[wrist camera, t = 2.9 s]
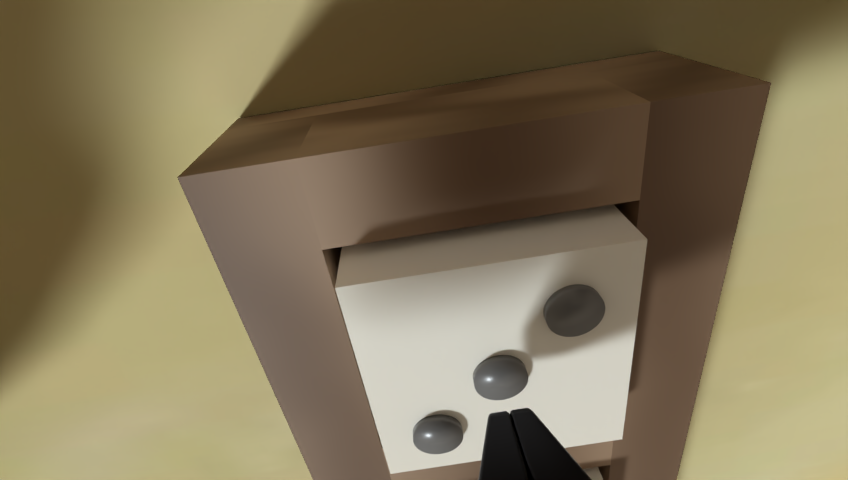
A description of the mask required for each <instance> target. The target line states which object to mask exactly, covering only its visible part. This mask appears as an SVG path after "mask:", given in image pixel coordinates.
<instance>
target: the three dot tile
mask: <svg viewBox="0 0 848 480" xmlns="http://www.w3.org/2000/svg"><path fill="white" fill-rule="evenodd" d="M647 240H648V239H647V238H646V237H645V236H644V235H643V234H642V233H641V232H640V231H639V230H638V229H637V228H636V227H635V226H634V225H633V224H632V223H631V222H630V221H629V220H628V219H627V218H626V217H625V216H624V215H623V214H622V213H621V212H620V211H619V210H618V209H617V208H616V207H615V205H614V204H612V205H605V206H599V207H593V208H586V209H580V210H573V211H567V212H561V213H554V214H548V215H542V216H535V217H529V218H522V219H516V220H510V221H503V222H497V223H491V224H484V225H478V226H471V227H465V228H459V229H452V230H446V231H439V232H433V233H427V234H420V235H414V236H408V237H401V238H395V239H388V240H382V241H376V242H369V243H363V244H357V245H350V246H344V247H342V249H341V255H340V261H339V267H338V273H337V278H336V284H335V290H336V293H337V297H338V300H339V303H340V307H341V310H342V313H343V317H344V320H345V323H346V327H347V330H348V333H349V337H350V340H351V344H352V347H353V350H354V354H355V357H356V360H357V364H358V367H359V370H360V374H361V377H362V380H363V384H364V387H365V390H366V394H367V397H368V400H369V404H370V407H371V410H372V414H373V417H374V420H375V424H376V427H377V430H378V434H379V437H380V440H381V444H382V447H383V450H384V454H385V457H386V460H387V464H388V467H389V470H390V474H394V473H400V472H407V471H414V470H420V469H427V468H434V467H440V466H447V465H454V464H460V463H467V462H474V461H480V460H481V459H482V453H483V446H484V439H485V433H486V426H487V420H488V416H489V414H490V413H495V412H502V411H507V412H509V414H510V411H511V410H515V409H522V408H530V409H531V410H532V411H533V412H534V413H535V414H536V415H537V416H538V418H539V419H540V420H541V421H542V422H543V423H544V425H545V426H546V427H547V428H548V429H549V430H550V432H551V433H552V434H553V435H554V436H555V437H556V439H557V440H558V441H559V442H560V443H561V444H562V446H563V447H564V448H567V447H574V446H581V445H587V444H594V443H601V442H607V441H614V440H621V439H622V437H623V429H624V422H625V414H626V406H627V398H628V390H629V382H630V374H631V366H632V358H633V350H634V342H635V335H636V327H637V319H638V311H639V303H640V295H641V287H642V279H643V271H644V263H645V255H646V248H647Z"/></svg>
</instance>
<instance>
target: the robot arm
mask: <svg viewBox="0 0 848 480" xmlns="http://www.w3.org/2000/svg"><path fill="white" fill-rule="evenodd" d="M478 480H592V479H591V478H590V477H589V476H588V475H587V474H586V472H585V471H584V470H583V469H582V468H581V467H580V465H579V464H578V463H577V462H576V461H575V460H574V458H573V457H572V456H571V455H570V454H569V453H568V451H567V450H566V449H565V448H564V447H563V446H562V444H561V443H560V442H559V441H558V440H557V439H556V437H555V436H554V435H553V434H552V433H551V432H550V430H549V429H548V428H547V427H546V426H545V425H544V423H543V422H542V421H541V420H540V419H539V418H538V416H537V415H536V414H535V413H534V412H533V411H532V410H531V409H530V408H522V409H515V410H511V411H510V414H509V412H507V411H502V412H495V413H490V414H489V416H488V420H487V426H486V433H485V439H484V446H483V453H482V459H481V466H480V472H479V479H478Z"/></svg>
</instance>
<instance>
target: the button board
mask: <svg viewBox="0 0 848 480" xmlns="http://www.w3.org/2000/svg"><path fill="white" fill-rule="evenodd" d="M770 85H771V83H770V82H767V81H763V80H760V79H756V78H753V77H749V76H746V75H742V74H739V73H735V72H732V71H728V70H725V69H721V68H718V67H714V66H711V65H707V64H704V63H700V62H697V61H693V60H690V59H686V58H683V57H679V56H676V55H672V54H669V53H665V52H662V51H654V52H648V53H642V54H636V55H629V56H623V57H617V58H611V59H605V60H598V61H592V62H586V63H580V64H573V65H567V66H561V67H555V68H549V69H542V70H536V71H530V72H524V73H518V74H511V75H505V76H499V77H493V78H487V79H480V80H474V81H468V82H462V83H455V84H449V85H443V86H437V87H431V88H424V89H418V90H412V91H406V92H400V93H393V94H387V95H381V96H375V97H369V98H362V99H356V100H350V101H344V102H337V103H331V104H325V105H319V106H313V107H306V108H300V109H294V110H288V111H282V112H275V113H269V114H263V115H257V116H251V117H244V118H239V119H237V120H236V121H235V122H234V123H233V124H232V125H231V126H230V127H229V128H228V129H227V130H226V131H225V132H224V133H223V134H222V135H221V136H220V137H219V138H218V139H217V140H216V141H215V142H214V143H213V144H212V145H211V146H210V147H208V148H207V149H206V150H205V151H204V152H203V153H202V154H201V155H200V156H199V157H198V158H197V159H196V160H195V161H194V162H193V163H192V164H191V165H190V166H189V167H188V168H187V169H186V170H185V171H184V172H183V173H182V174H181V175H179V176H178V177H177V178H178V180H179V182H180V184H181V186H182V189H183V191H184V193H185V195H186V198H187V200H188V202H189V204H190V206H191V209H192V211H193V213H194V215H195V218H196V220H197V222H198V224H199V227H200V229H201V231H202V233H203V235H204V238H205V240H206V242H207V244H208V247H209V249H210V251H211V253H212V255H213V258H214V260H215V262H216V264H217V267H218V269H219V271H220V273H221V275H222V278H223V280H224V282H225V284H226V287H227V289H228V291H229V293H230V296H231V298H232V300H233V302H234V304H235V307H236V309H237V311H238V313H239V316H240V318H241V320H242V322H243V324H244V327H245V329H246V331H247V333H248V336H249V338H250V340H251V342H252V345H253V347H254V349H255V351H256V353H257V356H258V358H259V360H260V362H261V365H262V367H263V369H264V371H265V373H266V376H267V378H268V380H269V382H270V385H271V387H272V389H273V391H274V393H275V396H276V398H277V400H278V402H279V405H280V407H281V409H282V411H283V414H284V416H285V418H286V420H287V422H288V425H289V427H290V429H291V431H292V434H293V436H294V438H295V440H296V442H297V445H298V447H299V449H300V451H301V454H302V456H303V458H304V460H305V463H306V465H307V467H308V469H309V471H310V474H311V476H312V478H313V480H478V479H479V472H480V466H481V460H480V461H474V462H467V463H460V464H454V465H447V466H440V467H434V468H427V469H420V470H414V471H407V472H400V473H394V474H390V470H389V467H388V464H387V460H386V457H385V454H384V450H383V447H382V444H381V440H380V437H379V434H378V430H377V427H376V424H375V420H374V417H373V414H372V410H371V407H370V404H369V400H368V397H367V394H366V390H365V387H364V384H363V380H362V377H361V374H360V370H359V367H358V364H357V360H356V357H355V354H354V350H353V347H352V344H351V340H350V337H349V333H348V330H347V327H346V323H345V320H344V317H343V313H342V310H341V307H340V303H339V300H338V297H337V293H336V290H335V284H336V278H337V273H338V267H339V261H340V255H341V249H342V247H344V246H350V245H357V244H363V243H369V242H376V241H382V240H388V239H395V238H401V237H408V236H414V235H420V234H427V233H433V232H439V231H446V230H452V229H459V228H465V227H471V226H478V225H484V224H491V223H497V222H503V221H510V220H516V219H522V218H529V217H535V216H542V215H548V214H554V213H561V212H567V211H573V210H580V209H586V208H593V207H599V206H605V205H612V204H614V205H615V207H616V208H617V209H618V210H619V211H620V212H621V213H622V214H623V215H624V216H625V217H626V218H627V219H628V220H629V221H630V222H631V223H632V224H633V225H634V226H635V227H636V228H637V229H638V230H639V231H640V232H641V233H642V234H643V235H644V236H645V237H646V238H647V239H648V240H647V248H646V255H645V263H644V271H643V279H642V287H641V295H640V303H639V311H638V319H637V327H636V335H635V342H634V350H633V358H632V366H631V374H630V382H629V390H628V398H627V406H626V414H625V422H624V429H623V437H622V439H621V440H614V441H607V442H601V443H594V444H587V445H581V446H574V447H567V448H565V449H566V450H567V451H568V453H569V454H570V455H571V456H572V457H573V458H574V460H575V461H576V462H577V463H578V464H579V465H580V467H581V468H582V469H586V468H593V467H598V468H599V471H600V473H601V475H602V478H603V480H676V479H677V475H678V471H679V467H680V462H681V458H682V454H683V450H684V446H685V441H686V437H687V433H688V429H689V425H690V421H691V416H692V412H693V408H694V404H695V400H696V395H697V391H698V387H699V383H700V379H701V374H702V370H703V366H704V362H705V358H706V353H707V349H708V345H709V341H710V337H711V333H712V328H713V324H714V320H715V316H716V312H717V307H718V303H719V299H720V295H721V291H722V286H723V282H724V278H725V274H726V270H727V265H728V261H729V257H730V253H731V249H732V245H733V240H734V236H735V232H736V228H737V224H738V219H739V215H740V211H741V207H742V203H743V198H744V194H745V190H746V186H747V182H748V177H749V173H750V169H751V165H752V161H753V157H754V152H755V148H756V144H757V140H758V136H759V131H760V127H761V123H762V119H763V115H764V110H765V106H766V102H767V98H768V94H769V89H770Z"/></svg>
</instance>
